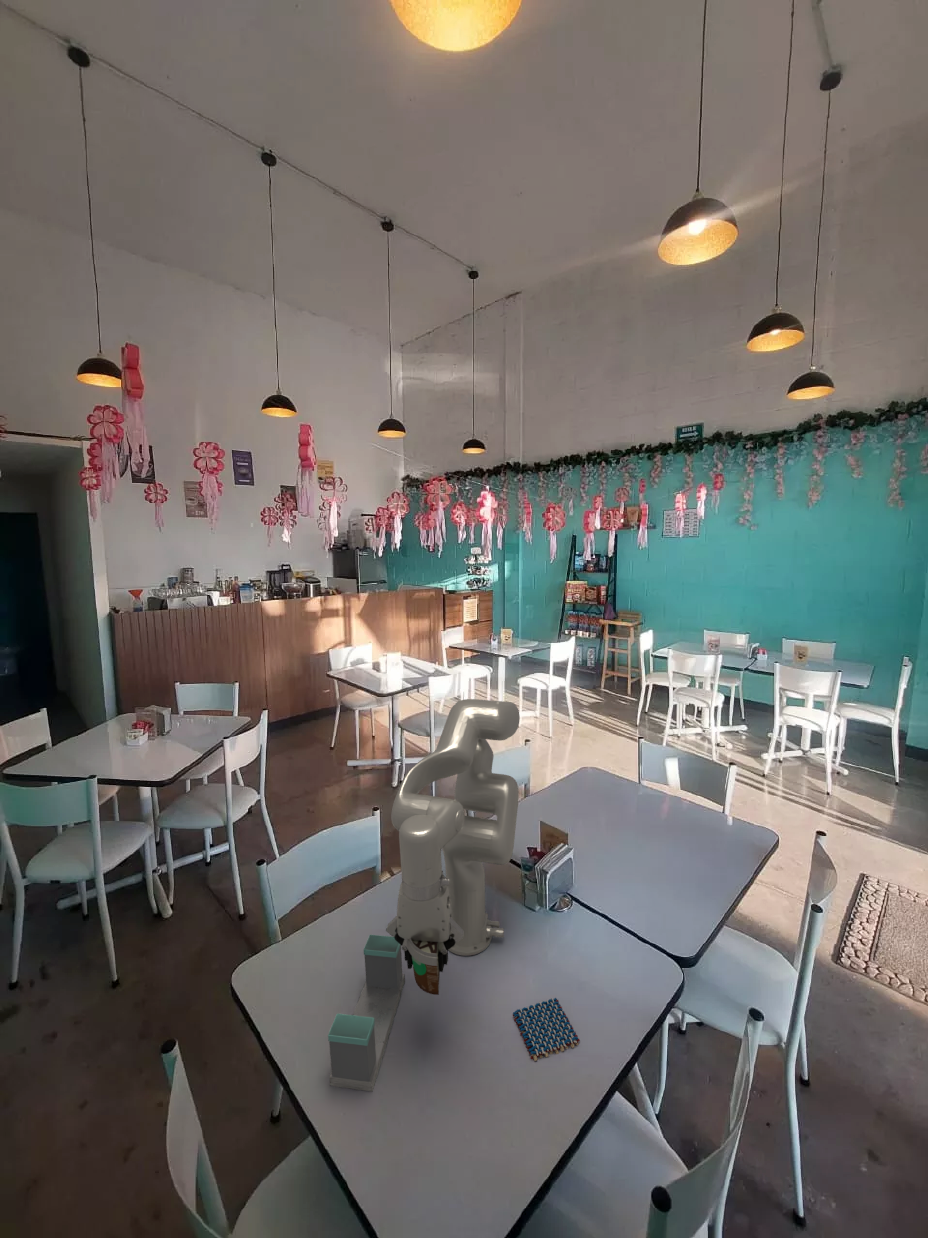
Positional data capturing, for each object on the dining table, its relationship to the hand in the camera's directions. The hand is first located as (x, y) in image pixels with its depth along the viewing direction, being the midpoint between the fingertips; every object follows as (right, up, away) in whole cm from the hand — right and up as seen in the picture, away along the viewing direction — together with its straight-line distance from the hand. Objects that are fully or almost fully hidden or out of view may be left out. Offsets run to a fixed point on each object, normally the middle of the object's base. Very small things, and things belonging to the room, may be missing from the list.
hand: (426, 963), depth 99 cm
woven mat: (+24, -17, +4) cm, 29 cm away
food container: (-1, -3, +1) cm, 3 cm away
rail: (-12, -16, +5) cm, 21 cm away
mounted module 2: (-10, -13, +14) cm, 21 cm away
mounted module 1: (-13, -16, -5) cm, 21 cm away
